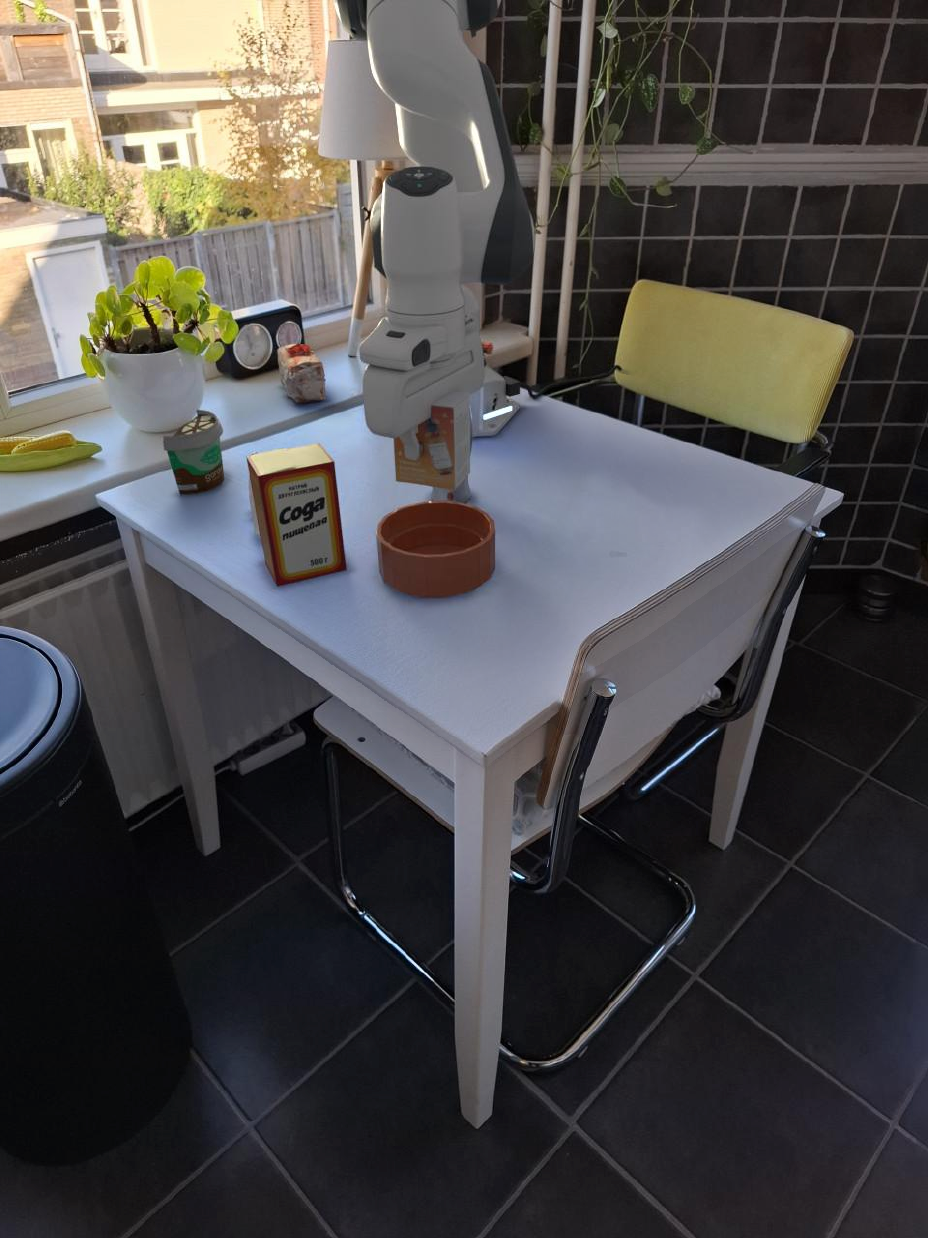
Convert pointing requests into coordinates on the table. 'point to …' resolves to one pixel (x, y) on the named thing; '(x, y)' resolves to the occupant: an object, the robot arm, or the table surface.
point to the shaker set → (253, 507)
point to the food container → (196, 454)
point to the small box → (439, 446)
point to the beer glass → (461, 491)
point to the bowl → (436, 548)
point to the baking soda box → (298, 512)
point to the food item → (301, 373)
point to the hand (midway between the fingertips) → (431, 446)
